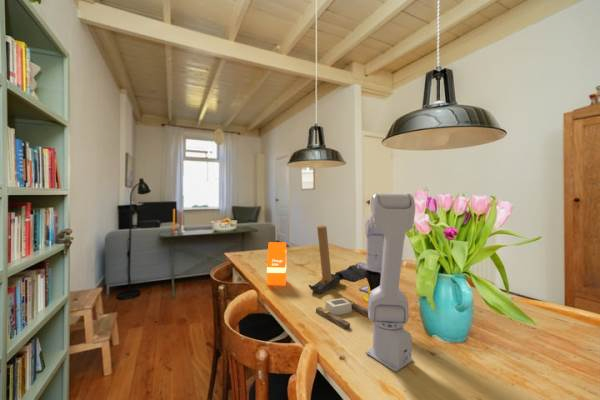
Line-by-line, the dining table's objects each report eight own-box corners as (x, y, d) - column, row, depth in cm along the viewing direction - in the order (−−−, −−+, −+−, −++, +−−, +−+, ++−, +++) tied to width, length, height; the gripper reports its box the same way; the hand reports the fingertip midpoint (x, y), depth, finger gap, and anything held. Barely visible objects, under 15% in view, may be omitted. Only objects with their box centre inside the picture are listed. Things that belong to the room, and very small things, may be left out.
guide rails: (375, 316, 93) (375, 311, 93) (345, 329, 84) (345, 323, 84) (344, 302, 105) (344, 298, 105) (315, 312, 96) (315, 307, 96)
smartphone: (367, 287, 124) (396, 296, 113) (358, 290, 119) (387, 300, 108) (367, 285, 124) (396, 294, 113) (358, 288, 119) (387, 298, 108)
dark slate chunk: (330, 276, 140) (330, 267, 139) (353, 268, 155) (353, 260, 155) (354, 283, 129) (354, 274, 129) (376, 274, 144) (376, 266, 144)
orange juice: (285, 285, 124) (285, 243, 123) (266, 285, 124) (267, 243, 123) (286, 280, 131) (286, 240, 131) (269, 279, 132) (269, 240, 131)
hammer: (318, 300, 112) (311, 233, 107) (309, 297, 115) (302, 232, 111) (343, 281, 126) (338, 221, 122) (335, 278, 130) (329, 220, 125)
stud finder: (351, 312, 96) (351, 302, 96) (333, 316, 93) (333, 306, 93) (343, 306, 101) (343, 297, 101) (325, 310, 98) (325, 300, 98)
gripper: (400, 256, 87) (399, 297, 87) (365, 249, 98) (365, 284, 99) (387, 259, 82) (386, 302, 83) (353, 251, 94) (352, 288, 94)
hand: (374, 292), depth 90 cm, fingers closed
